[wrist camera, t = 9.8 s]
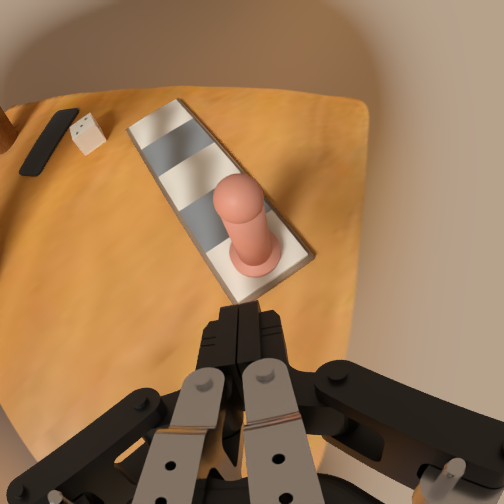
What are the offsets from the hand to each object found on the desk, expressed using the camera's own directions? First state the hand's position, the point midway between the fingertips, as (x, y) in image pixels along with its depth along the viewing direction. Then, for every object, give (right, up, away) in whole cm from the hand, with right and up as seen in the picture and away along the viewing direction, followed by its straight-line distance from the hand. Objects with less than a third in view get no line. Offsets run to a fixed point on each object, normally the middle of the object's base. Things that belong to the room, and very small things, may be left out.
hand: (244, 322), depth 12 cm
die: (-24, +20, +29) cm, 43 cm away
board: (-6, +11, +23) cm, 26 cm away
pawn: (+1, +3, +18) cm, 18 cm away
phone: (-36, +22, +32) cm, 53 cm away
